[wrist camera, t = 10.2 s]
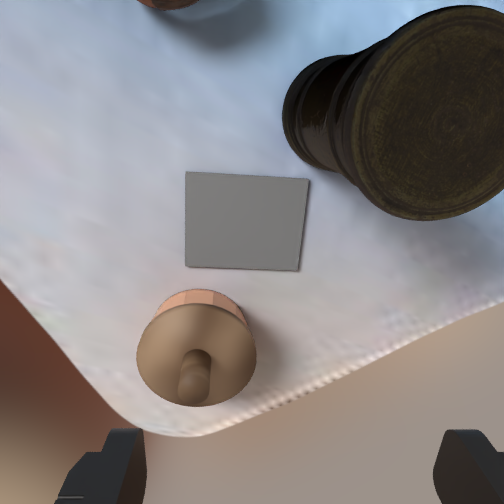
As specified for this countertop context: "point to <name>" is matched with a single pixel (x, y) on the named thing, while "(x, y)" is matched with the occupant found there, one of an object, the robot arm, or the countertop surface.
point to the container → (410, 114)
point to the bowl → (201, 301)
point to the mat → (243, 221)
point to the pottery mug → (168, 4)
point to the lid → (196, 355)
